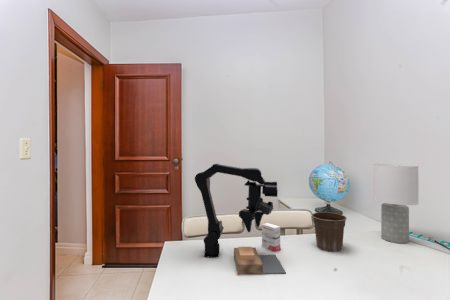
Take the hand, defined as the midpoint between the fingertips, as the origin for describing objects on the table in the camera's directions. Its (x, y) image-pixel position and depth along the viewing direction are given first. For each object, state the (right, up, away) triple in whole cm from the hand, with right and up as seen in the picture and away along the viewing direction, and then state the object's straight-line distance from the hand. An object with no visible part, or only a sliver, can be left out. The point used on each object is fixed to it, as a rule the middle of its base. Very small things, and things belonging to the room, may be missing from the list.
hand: (253, 229), depth 111 cm
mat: (+6, -13, -6) cm, 16 cm away
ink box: (+10, -13, +11) cm, 20 cm away
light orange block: (-4, -9, -7) cm, 12 cm away
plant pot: (+40, -14, +12) cm, 44 cm away
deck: (-4, -13, -7) cm, 15 cm away
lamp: (+82, -14, +23) cm, 86 cm away
